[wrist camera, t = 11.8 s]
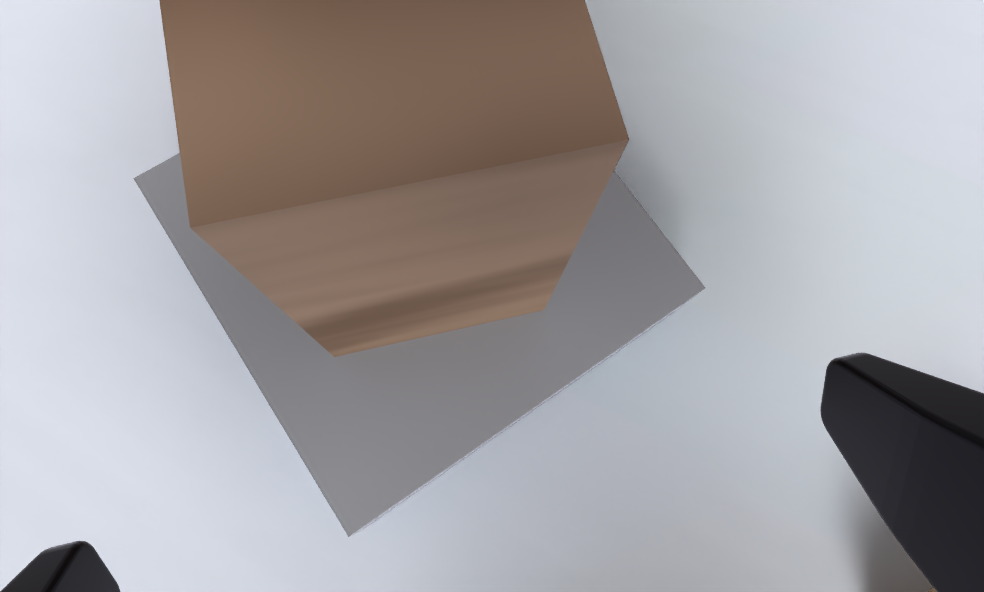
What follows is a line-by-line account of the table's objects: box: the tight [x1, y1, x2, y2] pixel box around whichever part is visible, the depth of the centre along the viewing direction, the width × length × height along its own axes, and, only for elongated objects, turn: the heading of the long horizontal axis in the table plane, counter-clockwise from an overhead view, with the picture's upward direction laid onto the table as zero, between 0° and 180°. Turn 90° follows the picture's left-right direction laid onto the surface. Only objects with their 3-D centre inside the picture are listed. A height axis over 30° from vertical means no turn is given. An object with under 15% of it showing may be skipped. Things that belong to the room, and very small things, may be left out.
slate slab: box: [134, 153, 705, 537], centre depth 21 cm, size 12×12×3 cm
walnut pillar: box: [160, 0, 629, 357], centre depth 14 cm, size 6×6×10 cm
